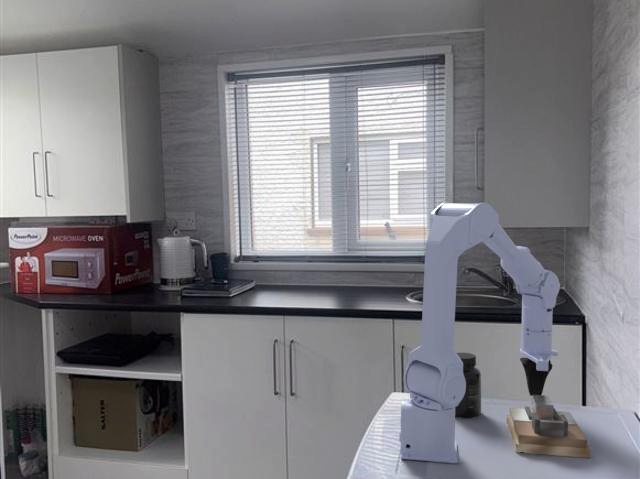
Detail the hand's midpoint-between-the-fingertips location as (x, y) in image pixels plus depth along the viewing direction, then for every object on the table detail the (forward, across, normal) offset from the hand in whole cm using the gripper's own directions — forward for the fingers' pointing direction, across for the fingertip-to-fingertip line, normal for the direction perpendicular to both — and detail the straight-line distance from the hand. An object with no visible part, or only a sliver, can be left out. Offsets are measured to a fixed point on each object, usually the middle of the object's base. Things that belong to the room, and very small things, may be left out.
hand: (535, 395), depth 113 cm
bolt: (+1, -8, 0) cm, 8 cm away
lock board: (+4, -11, 0) cm, 12 cm away
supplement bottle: (+4, -1, +14) cm, 15 cm away
